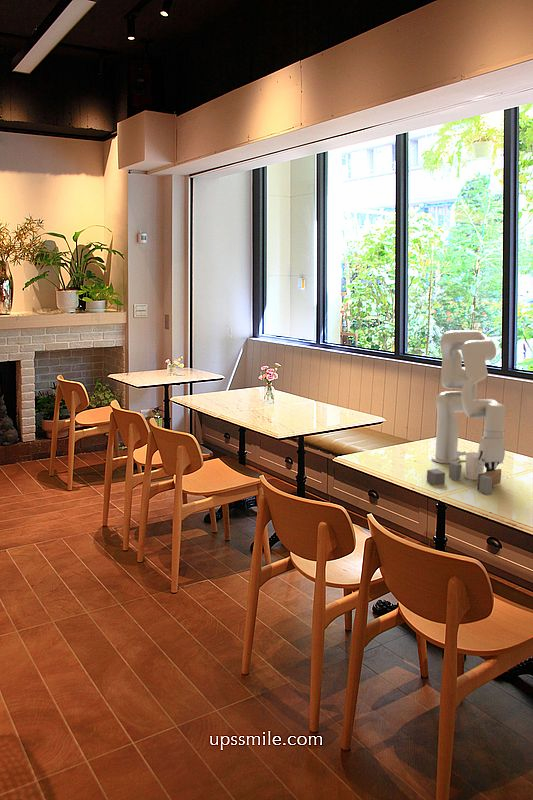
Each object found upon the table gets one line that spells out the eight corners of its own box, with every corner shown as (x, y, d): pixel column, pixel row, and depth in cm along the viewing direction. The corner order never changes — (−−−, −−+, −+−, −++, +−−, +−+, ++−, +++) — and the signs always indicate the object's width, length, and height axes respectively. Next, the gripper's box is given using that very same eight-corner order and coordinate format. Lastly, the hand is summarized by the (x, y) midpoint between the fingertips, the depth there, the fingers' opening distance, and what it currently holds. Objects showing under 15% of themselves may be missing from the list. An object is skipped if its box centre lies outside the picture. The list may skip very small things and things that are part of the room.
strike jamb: (453, 476, 315) (454, 461, 313) (460, 480, 310) (461, 464, 309) (448, 477, 314) (449, 462, 312) (455, 480, 309) (456, 465, 308)
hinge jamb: (483, 490, 296) (485, 474, 295) (491, 494, 292) (492, 478, 290) (478, 491, 295) (479, 475, 294) (486, 494, 291) (487, 478, 290)
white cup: (461, 475, 317) (463, 452, 315) (479, 474, 318) (481, 452, 316) (468, 480, 309) (469, 457, 307) (486, 480, 310) (488, 457, 308)
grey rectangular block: (436, 480, 309) (436, 468, 308) (444, 484, 304) (445, 472, 303) (426, 481, 308) (427, 469, 307) (434, 485, 302) (435, 473, 301)
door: (500, 484, 304) (501, 469, 303) (479, 490, 296) (480, 474, 294) (497, 483, 305) (498, 468, 304) (476, 489, 297) (477, 473, 296)
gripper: (502, 430, 306) (499, 473, 310) (472, 433, 301) (468, 476, 305) (514, 434, 299) (511, 478, 303) (483, 437, 294) (480, 482, 298)
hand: (489, 477), depth 304 cm, fingers closed
